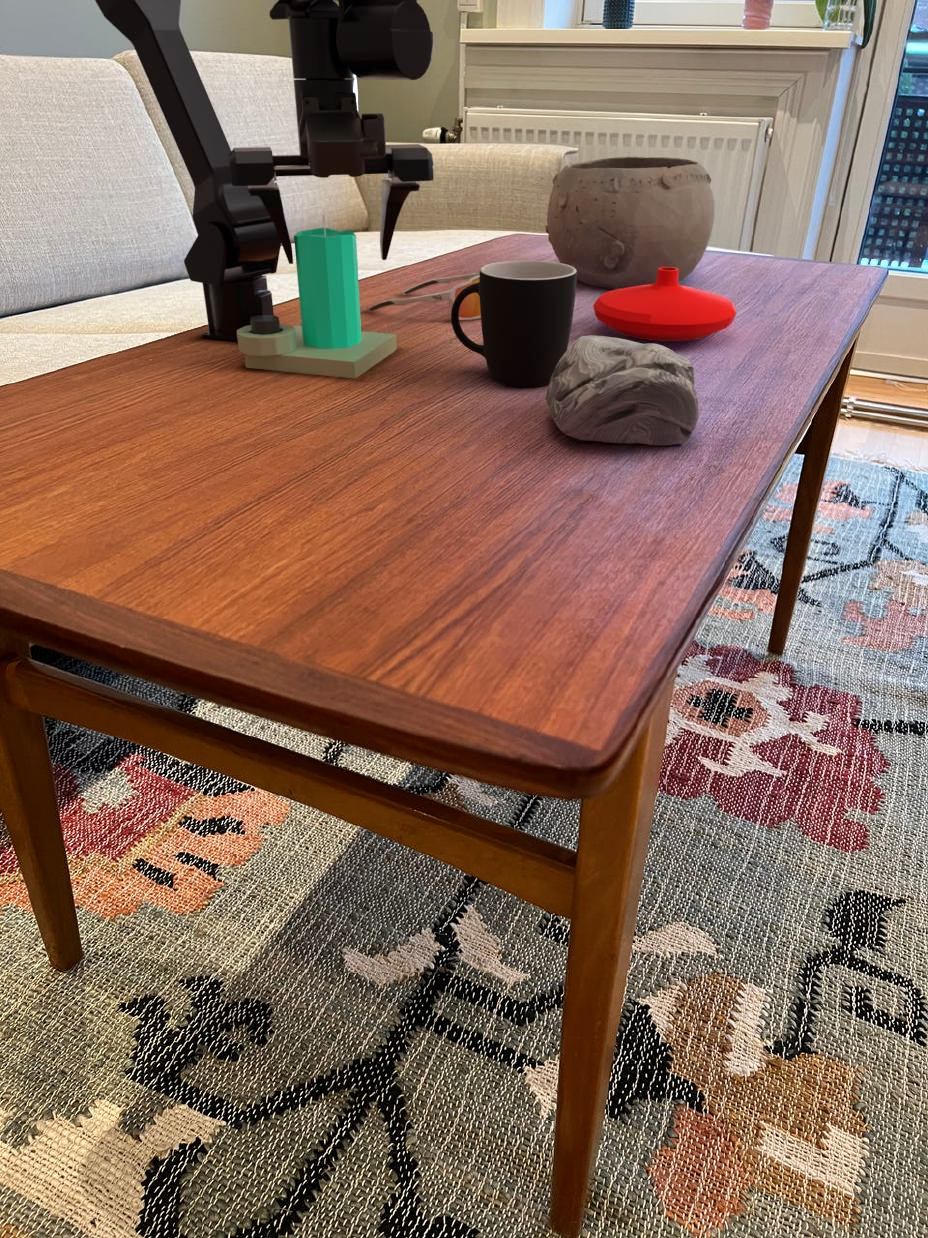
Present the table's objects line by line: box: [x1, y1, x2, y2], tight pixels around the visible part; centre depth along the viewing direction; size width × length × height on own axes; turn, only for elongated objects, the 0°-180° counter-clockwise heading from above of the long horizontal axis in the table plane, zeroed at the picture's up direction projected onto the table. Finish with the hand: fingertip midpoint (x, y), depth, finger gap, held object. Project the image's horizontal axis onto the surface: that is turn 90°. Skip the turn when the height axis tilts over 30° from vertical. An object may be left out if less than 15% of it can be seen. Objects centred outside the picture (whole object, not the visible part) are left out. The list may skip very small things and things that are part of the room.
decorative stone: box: [545, 334, 700, 446], centre depth 76 cm, size 15×14×10 cm
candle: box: [293, 214, 362, 349], centre depth 93 cm, size 6×6×12 cm
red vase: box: [592, 267, 737, 342], centre depth 103 cm, size 16×16×7 cm
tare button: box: [250, 314, 281, 335], centre depth 92 cm, size 3×3×2 cm
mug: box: [450, 259, 578, 388], centre depth 88 cm, size 12×9×10 cm
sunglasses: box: [367, 271, 481, 321], centre depth 115 cm, size 14×15×5 cm
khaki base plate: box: [237, 323, 398, 379], centre depth 95 cm, size 13×12×4 cm
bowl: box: [544, 156, 716, 289], centre depth 128 cm, size 23×23×15 cm
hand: (337, 261), depth 92 cm, fingers open, 9 cm apart
